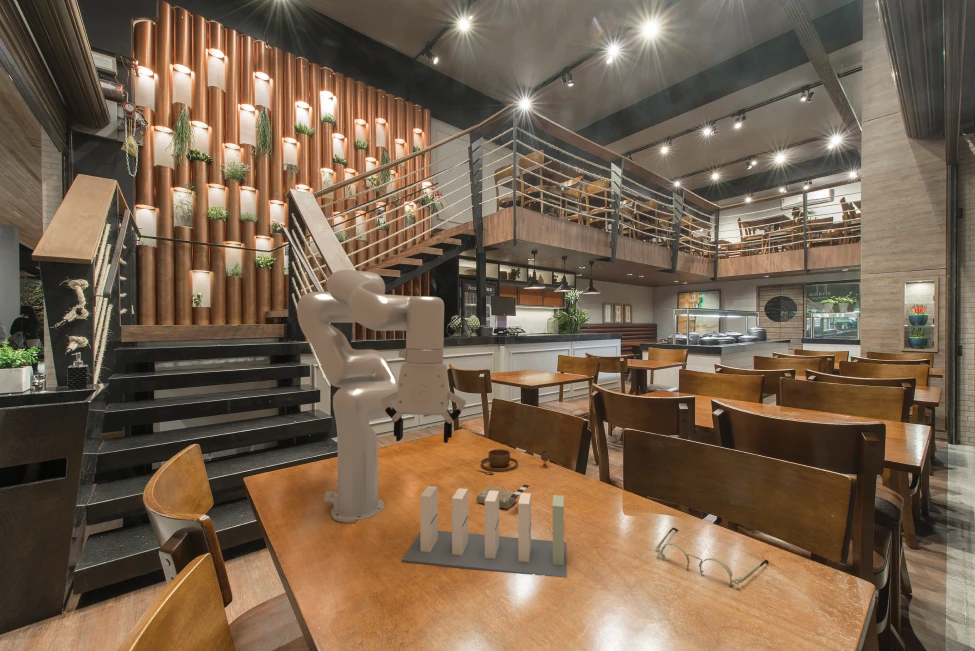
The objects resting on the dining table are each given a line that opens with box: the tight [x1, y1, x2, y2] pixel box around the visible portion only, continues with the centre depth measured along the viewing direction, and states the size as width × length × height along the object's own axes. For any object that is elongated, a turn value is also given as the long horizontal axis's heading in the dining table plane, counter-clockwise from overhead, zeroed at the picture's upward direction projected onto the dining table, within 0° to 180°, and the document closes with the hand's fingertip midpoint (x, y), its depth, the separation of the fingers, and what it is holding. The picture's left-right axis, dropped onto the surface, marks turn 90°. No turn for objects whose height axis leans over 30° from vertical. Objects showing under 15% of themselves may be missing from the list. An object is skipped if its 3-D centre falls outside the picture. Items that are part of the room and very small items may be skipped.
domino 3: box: [484, 491, 500, 559], centre depth 83 cm, size 2×5×11 cm, turn 170°
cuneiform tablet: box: [476, 484, 530, 510], centre depth 105 cm, size 7×4×12 cm
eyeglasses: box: [654, 527, 769, 588], centre depth 80 cm, size 17×15×5 cm
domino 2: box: [451, 487, 469, 555], centre depth 84 cm, size 2×5×11 cm, turn 169°
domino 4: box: [517, 492, 532, 562], centre depth 81 cm, size 2×5×11 cm, turn 169°
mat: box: [401, 530, 568, 578], centre depth 83 cm, size 31×12×1 cm, turn 79°
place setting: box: [475, 448, 550, 476], centre depth 131 cm, size 18×20×6 cm
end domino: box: [552, 494, 565, 566], centre depth 80 cm, size 2×5×11 cm, turn 169°
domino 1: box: [419, 485, 439, 552], centre depth 85 cm, size 2×5×11 cm, turn 169°
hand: (422, 440), depth 85 cm, fingers open, 9 cm apart
